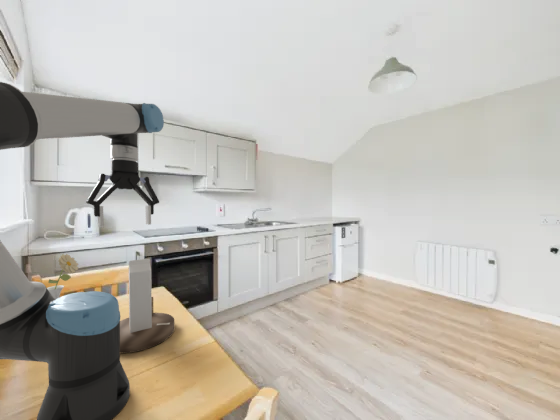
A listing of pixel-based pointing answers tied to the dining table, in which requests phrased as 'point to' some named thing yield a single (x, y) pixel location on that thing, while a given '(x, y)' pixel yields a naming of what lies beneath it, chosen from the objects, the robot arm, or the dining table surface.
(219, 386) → the dining table surface
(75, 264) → the flower in vase
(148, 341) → the turntable
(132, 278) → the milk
